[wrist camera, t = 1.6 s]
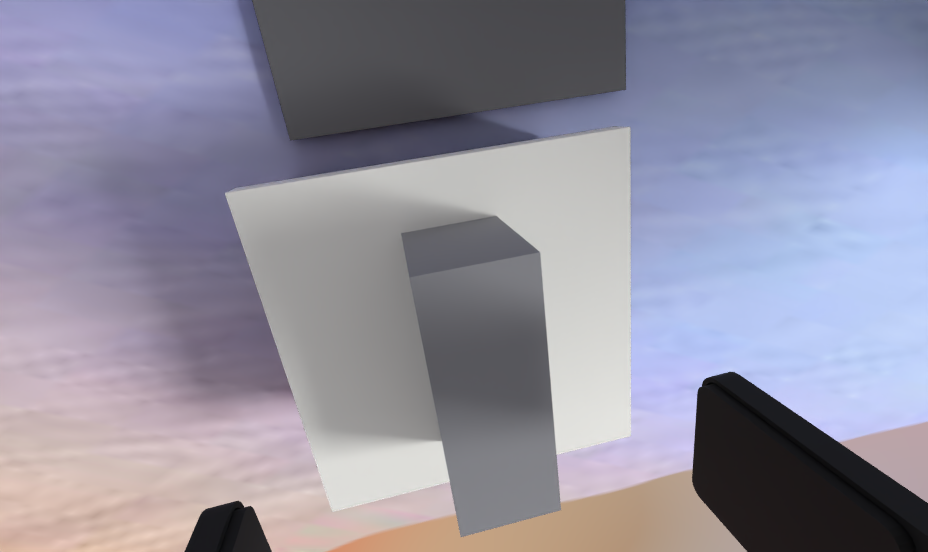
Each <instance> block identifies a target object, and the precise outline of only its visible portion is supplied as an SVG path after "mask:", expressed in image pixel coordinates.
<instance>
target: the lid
mask: <svg viewBox="0 0 928 552" xmlns="http://www.w3.org/2000/svg"><path fill="white" fill-rule="evenodd" d="M225 196H226V199H227V202H228V204H229V207H230V210H231V213H232V216H233V219H234V222H235V225H236V228H237V231H238V234H239V237H240V240H241V243H242V246H243V249H244V252H245V255H246V258H247V261H248V264H249V267H250V270H251V273H252V276H253V279H254V281H255V284H256V287H257V290H258V293H259V296H260V299H261V302H262V305H263V308H264V311H265V314H266V317H267V320H268V323H269V326H270V329H271V332H272V335H273V338H274V341H275V344H276V347H277V350H278V353H279V355H280V358H281V361H282V364H283V367H284V370H285V373H286V376H287V379H288V382H289V385H290V388H291V391H292V394H293V397H294V400H295V403H296V406H297V409H298V412H299V415H300V418H301V421H302V424H303V427H304V430H305V432H306V435H307V438H308V441H309V444H310V447H311V450H312V453H313V456H314V459H315V462H316V465H317V468H318V471H319V474H320V477H321V480H322V483H323V486H324V489H325V492H326V495H327V498H328V501H329V504H330V507H331V509H332V512H334V511H338V510H342V509H346V508H350V507H354V506H358V505H362V504H365V503H369V502H373V501H377V500H381V499H385V498H389V497H393V496H397V495H401V494H405V493H409V492H413V491H417V490H421V489H424V488H428V487H432V486H436V485H440V484H444V483H448V482H450V485H451V490H452V495H453V500H454V505H455V510H456V515H457V519H458V525H459V530H460V535H461V537H463V536H467V535H470V534H474V533H478V532H482V531H485V530H489V529H493V528H497V527H500V526H504V525H507V524H511V523H515V522H519V521H522V520H526V519H529V518H533V517H537V516H540V515H545V514H548V513H552V512H556V511H559V510H561V505H560V493H559V480H558V468H557V455H558V454H562V453H566V452H570V451H574V450H578V449H582V448H586V447H590V446H593V445H597V444H601V443H605V442H609V441H613V440H617V439H621V438H625V437H629V436H631V194H630V127H617V126H614V127H608V128H601V129H595V130H589V131H583V132H577V133H571V134H564V135H558V136H552V137H546V138H540V139H534V140H527V141H521V142H515V143H509V144H503V145H497V146H490V147H484V148H478V149H472V150H466V151H460V152H453V153H447V154H441V155H435V156H429V157H423V158H416V159H410V160H404V161H398V162H392V163H386V164H379V165H373V166H367V167H361V168H355V169H349V170H342V171H336V172H330V173H324V174H318V175H312V176H305V177H299V178H293V179H287V180H281V181H275V182H268V183H262V184H256V185H250V186H244V187H238V188H234V189H232V190H230V191H228V192H226V193H225Z"/></svg>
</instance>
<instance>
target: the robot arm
mask: <svg viewBox="0 0 928 552" xmlns="http://www.w3.org/2000/svg"><path fill="white" fill-rule="evenodd" d="M692 482H693V486H694V488H695V491H696V492H697V494H698V496H699V497H700V498H701V500H702V501H703V502H704V503H705V504H706V505H707V506H708V507H709V509H710V510H711V511H712V512H713V513H714V514H715V515H716V517H717V518H718V519H719V520H720V521H721V522H722V523H723V524H724V526H726V528H727V529H728V530H729V531H730V532H731V534H732V535H733V536H734V537H735V538H736V539H737V540H738V541H739V543H740V544H741V545H742V546H743V547H744V548H745V549H746V550H747V552H928V503H927V502H925V501H924V500H922V499H921V498H919V497H918V496H916V495H915V494H914V493H912V492H911V491H909V490H908V489H906V488H905V487H903V486H902V485H900V484H899V483H897V482H896V481H894V480H893V479H892V478H890V477H889V476H887V475H886V474H884V473H883V472H881V471H880V470H878V469H877V468H875V467H874V466H872V465H871V464H870V463H868V462H867V461H865V460H864V459H862V458H861V457H859V456H858V455H856V454H855V453H853V452H852V451H850V450H849V449H847V448H846V447H845V446H843V445H842V444H840V443H839V442H837V441H836V440H834V439H833V438H831V437H830V436H828V435H827V434H825V433H824V432H823V431H821V430H820V429H818V428H817V427H815V426H814V425H812V424H811V423H809V422H808V421H806V420H805V419H803V418H802V417H801V416H799V415H798V414H796V413H795V412H793V411H792V410H790V409H789V408H787V407H786V406H784V405H783V404H781V403H780V402H778V401H777V400H776V399H774V398H773V397H771V396H770V395H768V394H767V393H765V392H764V391H762V390H761V389H759V388H758V387H756V386H755V385H754V384H752V383H751V382H749V381H748V380H746V379H745V378H743V377H742V376H740V375H739V374H737V373H735V372H728V373H724V374H720V375H716V376H712V377H708V378H706V379H705V380H704V381H703V384H702V387H700V388H699V389H698V394H697V410H696V426H695V442H694V458H693V474H692ZM185 552H272V551H271V549H270V546H269V544H268V542H267V539H266V537H265V535H264V532H263V530H262V527H261V525H260V523H259V520H258V518H257V516H256V513H255V511H254V509H253V508H252V507H251V506H248V507H245V508H244V506H243V504H242V503H241V502H240V501H235V502H231V503H227V504H224V505H220V506H216V507H212V508H208V509H205V510H204V511H203V512H202V514H201V515H200V517H199V519H198V522H197V524H196V526H195V529H194V531H193V533H192V536H191V538H190V540H189V543H188V545H187V547H186V550H185Z"/></svg>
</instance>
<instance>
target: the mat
mask: <svg viewBox="0 0 928 552" xmlns="http://www.w3.org/2000/svg"><path fill="white" fill-rule="evenodd" d="M252 2H253V5H254V9H255V13H256V16H257V20H258V24H259V27H260V31H261V35H262V38H263V42H264V46H265V49H266V53H267V57H268V61H269V64H270V68H271V72H272V75H273V79H274V83H275V86H276V90H277V94H278V97H279V101H280V105H281V108H282V112H283V116H284V119H285V123H286V127H287V130H288V134H289V138H290V141H291V140H297V139H304V138H310V137H317V136H324V135H330V134H337V133H343V132H350V131H356V130H363V129H370V128H376V127H383V126H389V125H396V124H403V123H409V122H416V121H422V120H429V119H435V118H442V117H449V116H455V115H462V114H468V113H475V112H482V111H488V110H495V109H501V108H508V107H515V106H521V105H528V104H534V103H541V102H547V101H554V100H561V99H567V98H574V97H580V96H587V95H594V94H600V93H607V92H613V91H620V90H626V39H625V0H252Z"/></svg>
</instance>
